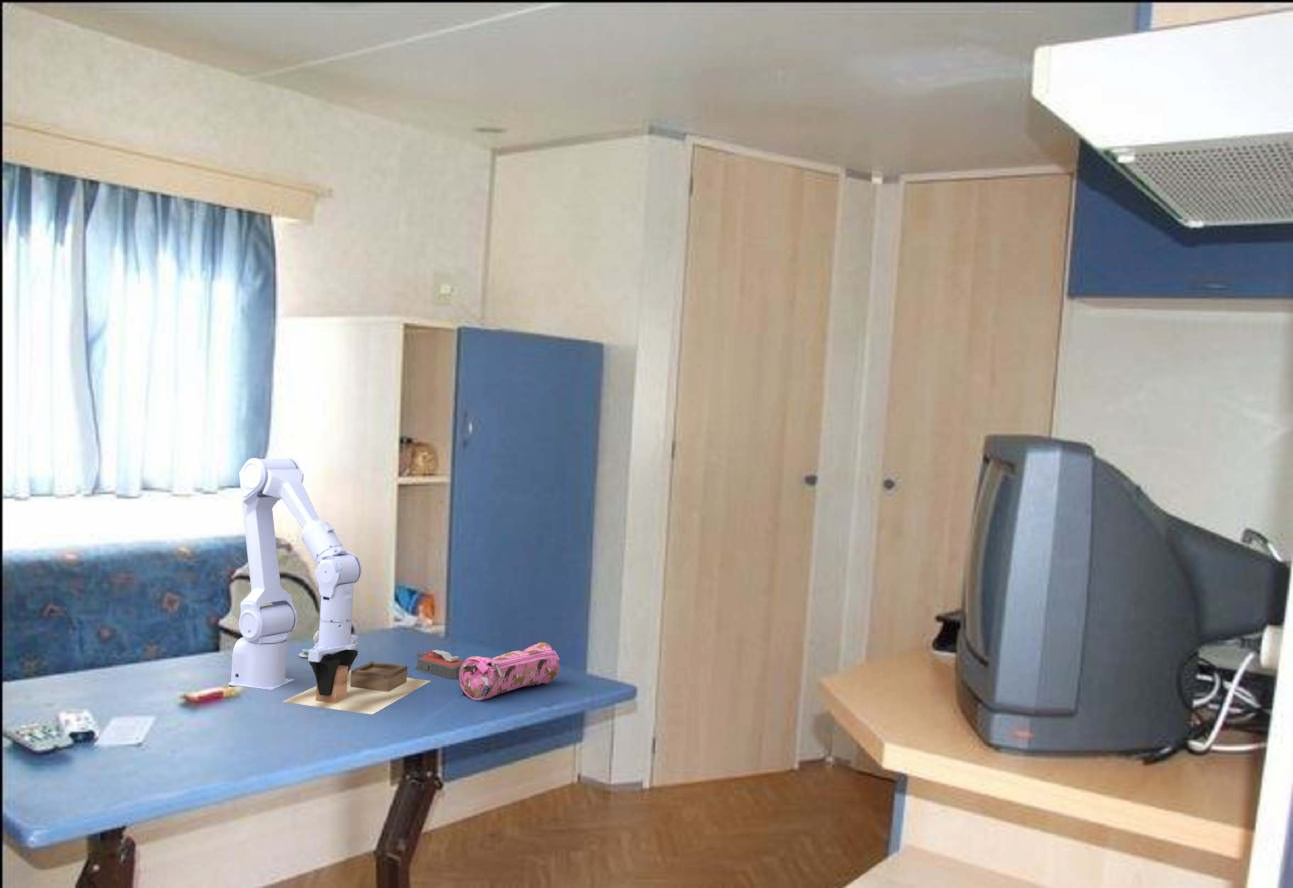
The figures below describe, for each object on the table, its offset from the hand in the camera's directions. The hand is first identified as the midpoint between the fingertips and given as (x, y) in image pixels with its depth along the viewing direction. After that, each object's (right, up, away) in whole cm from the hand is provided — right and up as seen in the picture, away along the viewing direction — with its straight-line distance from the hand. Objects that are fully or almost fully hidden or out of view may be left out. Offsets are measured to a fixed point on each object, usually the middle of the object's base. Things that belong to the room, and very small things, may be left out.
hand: (331, 691), depth 190 cm
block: (0, -1, 0) cm, 1 cm away
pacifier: (-14, -1, +33) cm, 36 cm away
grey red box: (+14, -3, +30) cm, 33 cm away
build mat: (+3, -2, +7) cm, 8 cm away
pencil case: (+31, -4, +16) cm, 35 cm away
